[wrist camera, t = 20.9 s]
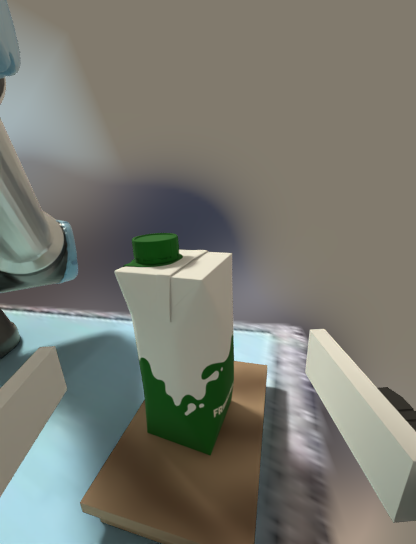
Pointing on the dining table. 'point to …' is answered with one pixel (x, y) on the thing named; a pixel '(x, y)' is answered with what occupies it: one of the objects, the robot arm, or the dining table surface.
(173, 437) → the soya milk
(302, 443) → the dining table surface
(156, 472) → the stand
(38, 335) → the dining table surface
